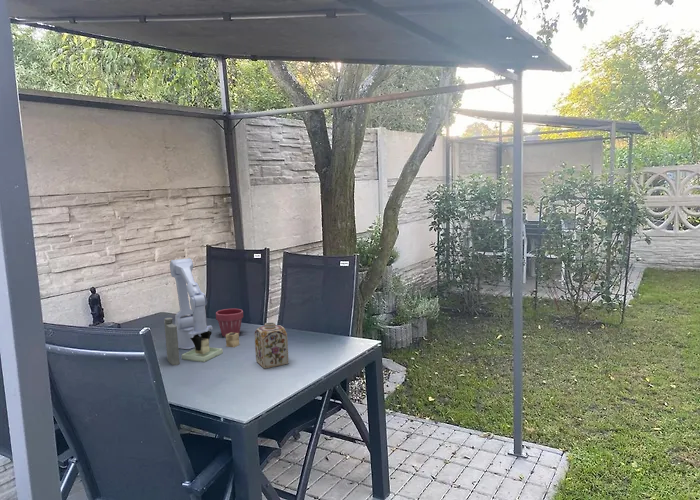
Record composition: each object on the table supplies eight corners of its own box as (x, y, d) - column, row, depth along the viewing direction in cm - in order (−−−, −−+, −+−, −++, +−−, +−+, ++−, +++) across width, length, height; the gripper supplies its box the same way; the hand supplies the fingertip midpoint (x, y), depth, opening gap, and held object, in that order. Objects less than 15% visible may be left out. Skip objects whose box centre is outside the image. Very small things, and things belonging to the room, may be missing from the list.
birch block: (195, 353, 241) (194, 340, 240) (201, 350, 245) (200, 337, 244) (203, 354, 239) (202, 341, 238) (209, 351, 243) (208, 338, 242)
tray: (181, 359, 239) (181, 354, 239) (200, 350, 251) (200, 346, 251) (204, 362, 234) (204, 357, 233) (222, 353, 246) (222, 348, 245)
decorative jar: (263, 369, 221) (261, 328, 219) (255, 361, 232) (252, 322, 229) (289, 364, 227) (287, 324, 225) (280, 356, 237) (278, 318, 235)
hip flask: (180, 364, 232) (176, 321, 229) (170, 366, 230) (167, 322, 228) (173, 355, 246) (170, 313, 243) (165, 356, 244) (161, 315, 241)
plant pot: (250, 332, 279) (248, 309, 277) (231, 339, 267) (229, 315, 265) (230, 329, 286) (229, 307, 285) (211, 336, 275) (209, 313, 273)
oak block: (226, 346, 256) (225, 334, 255) (231, 344, 260) (231, 332, 259) (233, 347, 254) (233, 335, 253) (239, 344, 258) (238, 332, 257)
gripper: (196, 324, 232) (198, 354, 234) (216, 317, 245) (218, 344, 247) (183, 323, 235) (186, 352, 236) (204, 316, 248) (206, 343, 250)
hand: (202, 348), depth 242 cm, fingers closed on birch block, 4 cm apart
